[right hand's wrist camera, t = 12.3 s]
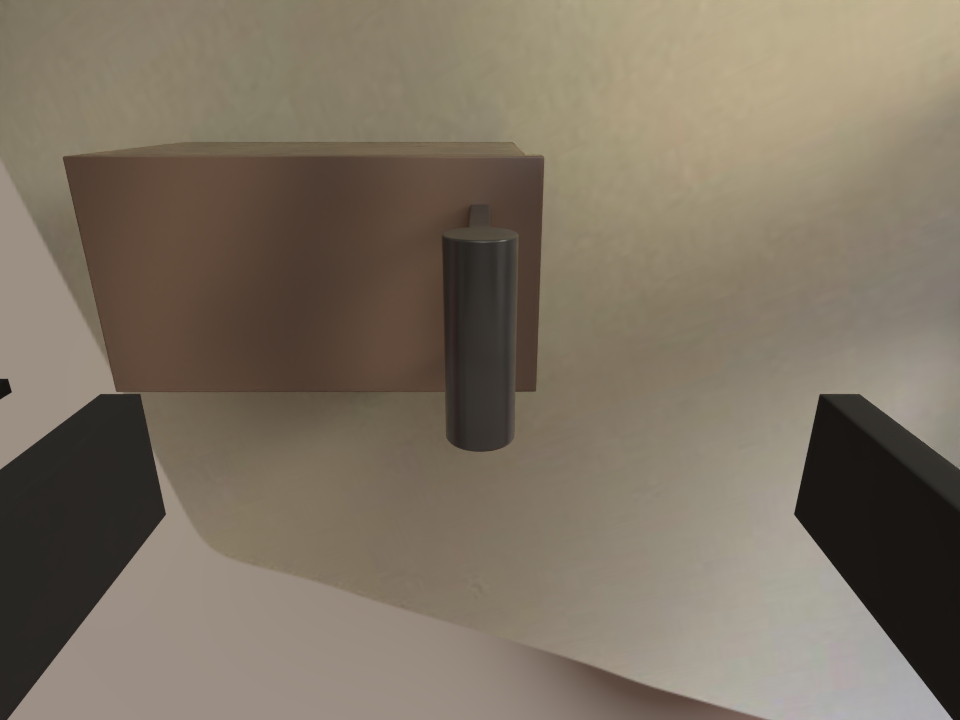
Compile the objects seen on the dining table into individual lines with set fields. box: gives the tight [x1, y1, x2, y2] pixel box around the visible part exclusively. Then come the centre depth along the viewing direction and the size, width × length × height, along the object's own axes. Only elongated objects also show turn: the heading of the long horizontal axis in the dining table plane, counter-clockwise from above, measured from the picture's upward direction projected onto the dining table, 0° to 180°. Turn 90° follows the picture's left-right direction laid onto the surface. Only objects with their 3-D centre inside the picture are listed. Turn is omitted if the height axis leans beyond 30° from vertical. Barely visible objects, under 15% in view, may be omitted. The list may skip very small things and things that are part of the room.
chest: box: [81, 142, 525, 155], centre depth 30 cm, size 17×10×9 cm, turn 90°
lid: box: [63, 155, 544, 452], centre depth 22 cm, size 18×10×9 cm, turn 90°
